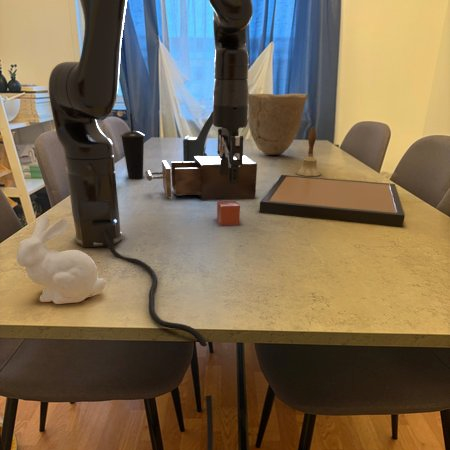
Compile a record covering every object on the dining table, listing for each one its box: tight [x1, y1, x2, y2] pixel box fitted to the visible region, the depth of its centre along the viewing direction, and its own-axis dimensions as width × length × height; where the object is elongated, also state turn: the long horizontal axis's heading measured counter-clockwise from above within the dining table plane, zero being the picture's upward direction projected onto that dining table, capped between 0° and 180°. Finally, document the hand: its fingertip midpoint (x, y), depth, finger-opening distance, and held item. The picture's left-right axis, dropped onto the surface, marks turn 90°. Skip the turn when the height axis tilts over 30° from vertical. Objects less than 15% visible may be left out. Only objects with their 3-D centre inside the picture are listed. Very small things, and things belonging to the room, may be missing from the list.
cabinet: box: [194, 155, 258, 201], centre depth 127 cm, size 16×13×10 cm
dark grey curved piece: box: [182, 110, 214, 162], centre depth 163 cm, size 11×17×24 cm, turn 87°
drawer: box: [144, 160, 201, 199], centre depth 124 cm, size 20×12×8 cm, turn 103°
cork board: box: [259, 174, 406, 228], centre depth 123 cm, size 36×3×35 cm
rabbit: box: [16, 214, 106, 305], centre depth 67 cm, size 12×9×12 cm
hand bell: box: [297, 126, 321, 177], centre depth 154 cm, size 8×8×16 cm
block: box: [216, 200, 241, 226], centre depth 104 cm, size 5×5×5 cm
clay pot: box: [247, 92, 309, 156], centre depth 187 cm, size 27×28×25 cm
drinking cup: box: [120, 112, 145, 180], centre depth 141 cm, size 8×8×20 cm
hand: (228, 179), depth 100 cm, fingers open, 8 cm apart
